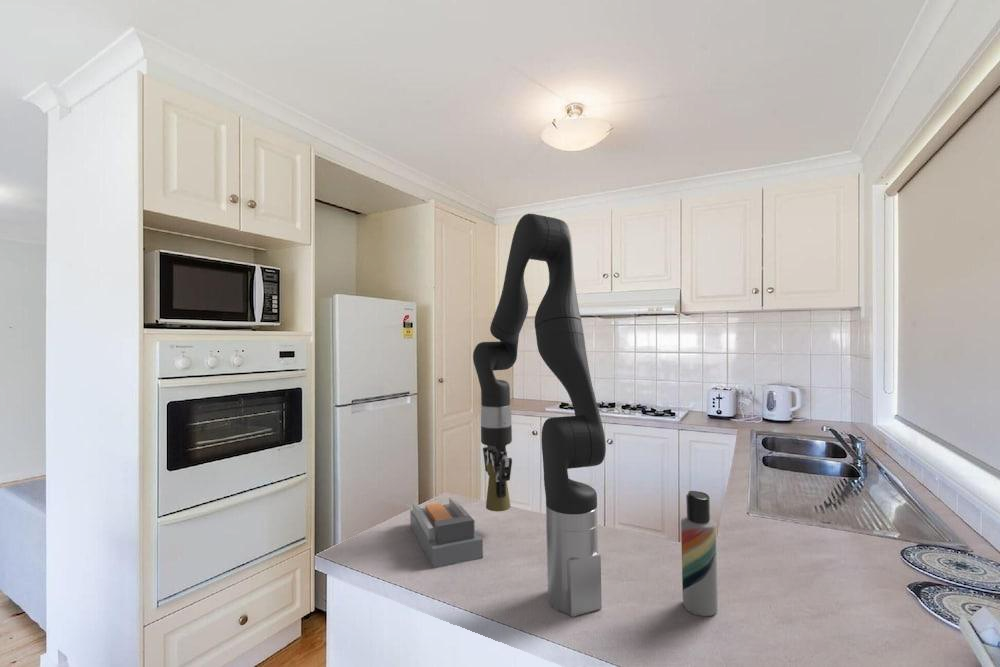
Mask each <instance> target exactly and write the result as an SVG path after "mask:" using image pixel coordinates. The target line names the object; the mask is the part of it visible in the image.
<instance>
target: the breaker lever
mask: <svg viewBox="0 0 1000 667" xmlns="http://www.w3.org/2000/svg"><path fill="white" fill-rule="evenodd" d="M443 505H444V504H442V503H441V502H438V503H437V502H436V503H429V504H426V505H425V506H424V508H426V511H427V513H428V514H429V516H430V517H431V519H432V520H433V522H434V523H435V521H439V520H445V519H451V518H452V516H451V515H450V514H449V512H448V511H447V510H446V509H445V507H444V506H443Z"/></svg>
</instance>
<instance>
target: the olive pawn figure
mask: <svg viewBox="0 0 1000 667" xmlns="http://www.w3.org/2000/svg"><path fill="white" fill-rule="evenodd" d="M496 468H497V469H499V468H500V466H496ZM506 474H507V473H506ZM488 475H489V476H488ZM495 475H496V473H495V472H494V471H493V467H492V462H490V463H488V465H487V476H488V483H487V490H486V491H487V492H486V493H487V494H486V501H485V502H486V503H485V508H486V510H488V511H491V512H504V511H507V510H510V509H511V500H510V494H509V487H508V481H506V496H505V497H501V498H498V497H497V494H496V477H495ZM503 475H504V474H503Z"/></svg>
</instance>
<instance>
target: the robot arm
mask: <svg viewBox="0 0 1000 667" xmlns="http://www.w3.org/2000/svg"><path fill="white" fill-rule="evenodd" d="M515 226H516V227H515V229H514V233H513V235H512V240H511V244H510V250H509V254H508V259H507V264H506V270H505V275H504V280H503V287H502V290H501V294H500V298H499V302H498V304H497V307H496V309H495V312H494V316H493V317H492V320H491V324H490V327H489V331H490V334H491V335H492V336H493V337H494V338H496V339H497V340H498V341H482V342H479V343H478V344H477V345H476V346H475V348H473V349H474V350H473V352H472V353H473V354H472V360H473V365H474V369H475V371H476V375H477V378H478V383H479V386H480V395H481V397H480V398H481V401H480V402H481V403H480V405H481V407H480V442H481V444H482V445H484V446H485V447H483V448H482V452H483V460H484V468H485V469H484V470H485V472H487V465H488V463H490V462H492V467H493V471H494V472H495V473H496V475H495V477H496V494H497V497H498V498H501V497H505V496H506V481H507V482H508V481H511V480H510V479H511V475H512V474H511V473H512V466H513V459H512V457H508V452H507V448H506V447H507V446H508V445H510V444H511V443H512V442H513V435H512V434H513V433H512V432H513V431H512V430H513V429H512V424H513V422H512V411H511V410H512V409H511V391H510V390H511V388H510V384H509V382H508V381H507V380H503V379H497V378H496V376H495V373H494V371H506V370H509V369H510V368H512V367H513V366H514V365H515V364H516V362H517V358H518V347H519V340H520V338H519V336H520V333H521V331H522V328H523V326H524V323H525V321H526V317H527V315H528V311H529V301H528V295H527V294H528V293H527V291H526V285H525V278H524V277H525V271H526V267H527V265H528V263H529V260H533V261H540V262H546V264H547V269H548V287H547V288H546V291H545V294H544V295H543V297H542V300H541V301H540V303H539V305H538V308H537V309H536V310H537V311H536V312H535V317H534V329H535V338H536V344H537V351H538V354H539V356H540V357H541V359H542V360H543V362H544V363H545V365H547V367H548V368H549V370H550V372H552V374H554V375H555V377H556V378H557V379H558V381H559V382H560V383H561V384H562V386H563V388H564V389H565V391H566V393H567V394H568V396H569V398H570V401H571V404H572V408H573V411H574V415H569V416H568V415H567V416H555V417H549V418H547V419H546V420H545V421H544V423H543V424H542V428H541V439H540V440H541V451H542V464H543V466H542V467H543V482H544V484H543V485H544V486H543V487H544V491H545V492H544V493H545V494H544V495H545V522H546V526H545V528H546V530H545V531H546V532H545V533H546V567H547V568H546V572H547V575H546V576H547V601H548V603H549V605H550V606H552V607H553V608H554V609H556V610H558V611H559V612H562V613H566V614H568V615H569V616H570V617H572V618H573V617H576V616H577V617H578V616H581V615H583V614H587V613H590V612H595V611H598V610H600V609H603V608H602V607H603V606H602V605H603V603H602V601H603V600H602V565H601V564H602V563H601V562H602V561H601V558H602V556H601V554H600V553H599V536H598V535H599V534H598V533H599V530H598V529H599V528H598V523H599V522H598V494H597V491H596V490H595V488H593V487H592V486H590V485H589V484H587V483H584V482H580V481H576V480H573V479H571V478H569V473H568V472H569V471H568V470H569V469H578V468H579V469H580V468H588V467H589V468H591V467H597V466H599V465H601V464H602V463H603V462H604V460H605V457H606V451H607V450H606V449H607V448H606V436H605V431H604V427H603V426H604V425H603V422H602V418H601V413H600V410H599V407H598V403H597V399H596V398H597V397H596V396H595V395H596V394H595V390H594V387H593V382H592V379H591V378H592V377H591V373H590V369H589V368H590V367H589V362H588V354H587V349H586V341H585V335H584V333H585V332H584V329H583V323H582V318H581V313H580V308H579V303H578V296H577V288H576V281H575V272H574V258H573V242H572V235H571V230H570V228H569V225H568V224H567V223H566V222H565V221H564V220H562V219H560V218H556V217H551V216H546V215H541V214H536V213H527V214H524V215H523V216H522V217H520V218H519V220H518V222H517V225H515ZM496 466H500V468H499V469H497V468H496ZM506 473H507V474H506ZM503 474H504V475H503ZM487 476H488V477H489V475H488V474H487Z"/></svg>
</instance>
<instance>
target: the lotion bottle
mask: <svg viewBox="0 0 1000 667" xmlns="http://www.w3.org/2000/svg"><path fill="white" fill-rule="evenodd" d="M685 498H686V499H685V500H686V505H685V506H686V515H685V516H683V517H681V520H680V529H681V530H680V533H681V534H680V536H681V537H680V538H681V576H682V577H681V579H682V580H681V582H682V587H681V588H682V604H683V607H684V608H685V610H687V611H688V612H690V613H691V614H695V615H697V616H701V617H710V616H714V615H715V614H717V613H718V610H719V596H718V595H719V594H718V593H719V591H718V590H719V589H718V588H719V586H718V585H719V584H718V545H717V542H718V540H717V524H716V522H715V521H714V519H712V518H711V507H710V506H711V502H710V501H711V499H710V496H709V494H707V493H706V492H702V491H697V490H689V491H688V493H687V494H686V497H685Z"/></svg>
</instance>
